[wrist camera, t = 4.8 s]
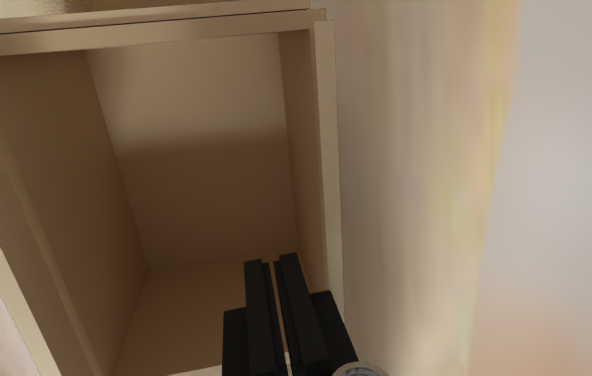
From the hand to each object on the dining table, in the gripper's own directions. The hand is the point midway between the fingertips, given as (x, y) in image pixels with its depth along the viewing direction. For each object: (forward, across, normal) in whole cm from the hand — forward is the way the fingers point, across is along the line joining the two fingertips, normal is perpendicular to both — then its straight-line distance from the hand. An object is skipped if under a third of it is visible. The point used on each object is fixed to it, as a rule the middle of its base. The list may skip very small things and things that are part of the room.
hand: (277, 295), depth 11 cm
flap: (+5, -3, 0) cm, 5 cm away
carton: (+15, +3, 0) cm, 15 cm away
